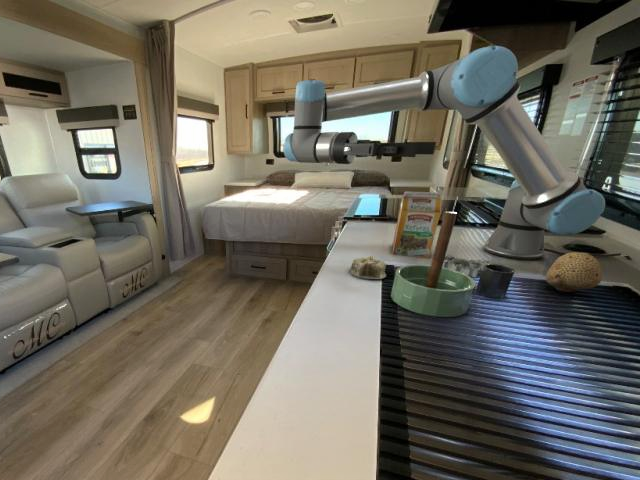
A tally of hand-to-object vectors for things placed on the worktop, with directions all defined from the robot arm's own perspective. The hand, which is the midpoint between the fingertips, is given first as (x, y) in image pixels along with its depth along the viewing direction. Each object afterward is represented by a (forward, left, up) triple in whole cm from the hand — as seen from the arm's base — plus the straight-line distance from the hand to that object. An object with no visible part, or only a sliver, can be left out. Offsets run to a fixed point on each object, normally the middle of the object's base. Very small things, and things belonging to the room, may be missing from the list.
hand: (426, 149), depth 73 cm
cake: (+7, -5, -32) cm, 33 cm away
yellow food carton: (-11, -28, -32) cm, 44 cm away
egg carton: (-19, -10, -32) cm, 39 cm away
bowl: (-3, +12, -32) cm, 34 cm away
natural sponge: (-38, +2, -32) cm, 50 cm away
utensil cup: (-19, +6, -32) cm, 38 cm away
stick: (-3, +12, -31) cm, 34 cm away
